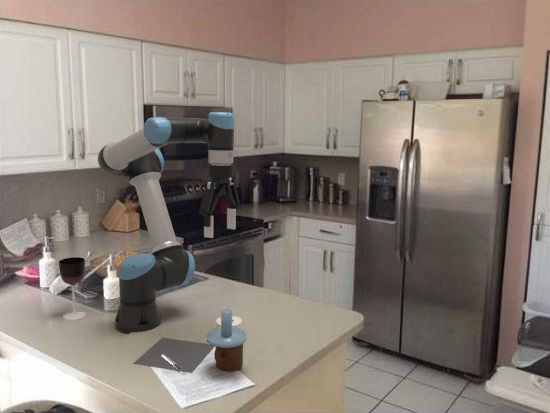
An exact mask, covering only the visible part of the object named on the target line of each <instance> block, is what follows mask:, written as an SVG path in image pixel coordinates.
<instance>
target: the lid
mask: <svg viewBox="0 0 550 413" xmlns="http://www.w3.org/2000/svg"><path fill="white" fill-rule="evenodd" d="M232 316H233V310H232V309H228V308H227V309H222V310H221V311H220V317H221V328H217V329H216V328H214V329H211V330H210V331H208V332H207V334H206V339H205V340H206V342H207V344H210V345H213V346H215V348H216V347H222V348H230V347H236V346H239V345H241V344H243V345H244V343H246V341H247V333H246V332H245V331H244V330H243V329H242V330H240V329H237V328H232Z"/></svg>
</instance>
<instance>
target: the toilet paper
mask: <svg viewBox="0 0 550 413" xmlns="http://www.w3.org/2000/svg"><path fill="white" fill-rule="evenodd" d="M217 328H221V316H220V317H218V318H216V320H215V329H217ZM232 328H237V329H240V330H243V319H242V318H240V317H239V316H236V315H235V316H234V315H232Z"/></svg>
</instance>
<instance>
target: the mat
mask: <svg viewBox="0 0 550 413" xmlns="http://www.w3.org/2000/svg"><path fill="white" fill-rule="evenodd" d="M214 348H216V346H213V345H210V344H209V343H203V342H195V341H191V340H181V339H177V338H176V339H175V338H170V337H169V338H168V337H161V338H160V339H159V340H158V341H157V342H156V343H154V344H153V345H152V346H151V347H150V348H148V350H146V351H145V352H144V353H143V354H142V355H141V356H139V358H137V359H136V360H135V361H134V362H133V363H132V365H140V366H145V367H152V368H158V369H163V370H170V371H176V372H183V373H188V374H192V373H193V372H194V371H196V369H197V367H199V366H200V364H201V363H202V362H203V361H204V359H206V358H207V356H209V354H210V353H211V351H212V350H213V349H214ZM161 354H164V355H166V356H167V357H169V358H170V359H171V360H172V361H174V362H175V363H176V364H177V365H178V367H179V368H180V369H176V368H174V367H173V365H172V364H170V363H169V362H168V361H166V360H165V359H164V358H162V357H161Z"/></svg>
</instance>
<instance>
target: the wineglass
mask: <svg viewBox="0 0 550 413" xmlns="http://www.w3.org/2000/svg"><path fill="white" fill-rule="evenodd" d="M58 267H59V274H60V278H61V279H62V281H63V282H64V283H66V284H67V285H71V298H72V312H71V311H70V312H67V313H65V314H63V315H62V318H63V319H64V320H67V321H75V320H79V319H82V318H84V317H86V315H87V314H86V312H83V311H76V298H75V296H76V295H75V294H76V293H75V285H76V284H78V283H79V282H81V280H83V278H84V275H85V271H86V270H85V267H86V259H85V258H84V257H80V256H78V257H73V256H72V257H66V258H63V259H60V260H59V261H58Z"/></svg>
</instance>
